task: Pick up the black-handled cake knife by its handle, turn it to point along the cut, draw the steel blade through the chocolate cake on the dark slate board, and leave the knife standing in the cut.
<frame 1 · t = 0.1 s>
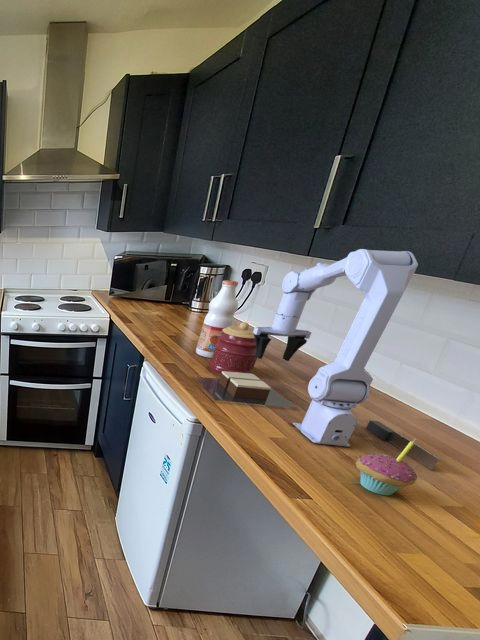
hand: (272, 358, 122), 10 cm above the worktop, tool pointing down, fingers open, 7 cm apart
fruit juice: (208, 355, 155), on the worktop
kitchen canister: (228, 372, 138), on the worktop
cake front half: (246, 395, 119), point 1 cm above the worktop, touching cake board
cupcake: (375, 489, 81), on the worktop
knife: (388, 441, 99), on the worktop
cake back half: (236, 386, 125), point 1 cm above the worktop, touching cake board
cake board: (240, 392, 122), on the worktop
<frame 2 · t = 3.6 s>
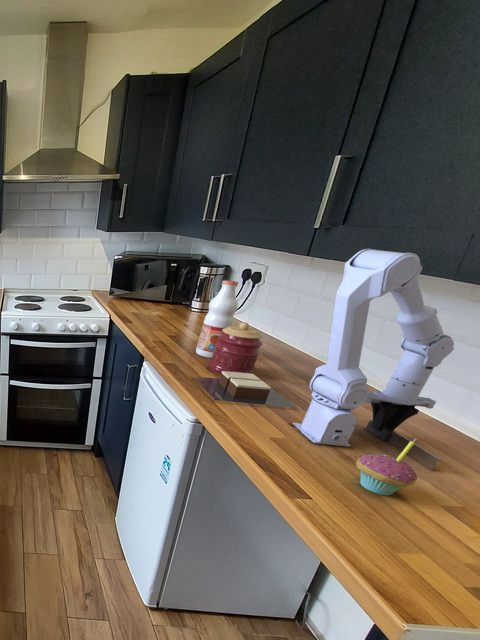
hand: (381, 429, 101), 2 cm above the worktop, tool pointing down, fingers closed on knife, 2 cm apart
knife: (388, 441, 99), on the worktop, touching gripper
everything else where it was.
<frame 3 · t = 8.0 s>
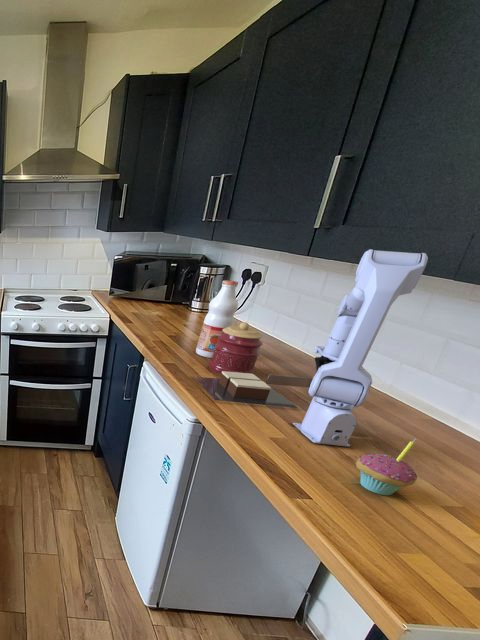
hand: (322, 383, 118), 5 cm above the worktop, tool pointing down, fingers closed on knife
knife: (309, 387, 119), point 4 cm above the worktop, touching gripper
everything else where it was.
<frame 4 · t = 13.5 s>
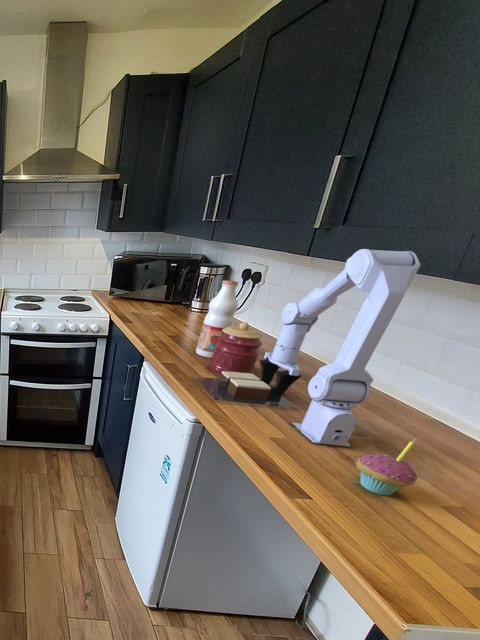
hand: (271, 388, 121), 2 cm above the worktop, tool pointing down, fingers open, 7 cm apart
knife: (258, 392, 122), point 1 cm above the worktop, touching cake board
everything else where it was.
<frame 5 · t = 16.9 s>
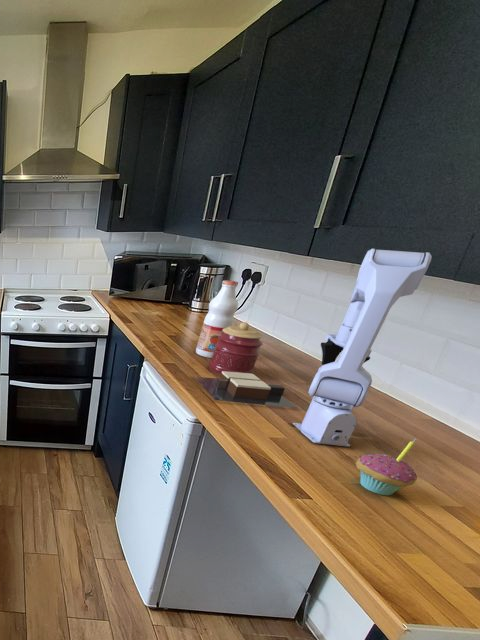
hand: (334, 372, 115), 9 cm above the worktop, tool pointing down, fingers open, 7 cm apart
nothing on the worktop moved.
at the end: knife 0.0 cm from the target spot on the cake board, point 0.6 cm above the cake board's base; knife tilted 0°; the gripper is holding nothing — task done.
